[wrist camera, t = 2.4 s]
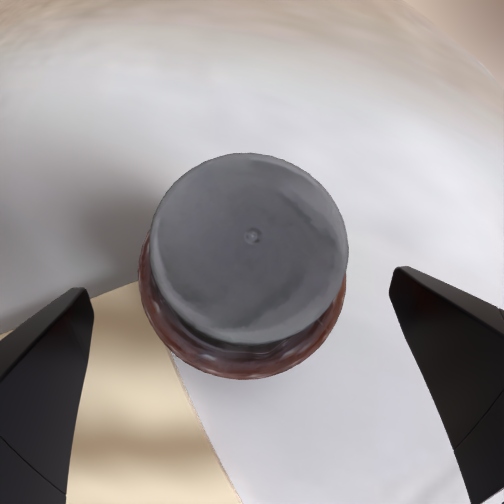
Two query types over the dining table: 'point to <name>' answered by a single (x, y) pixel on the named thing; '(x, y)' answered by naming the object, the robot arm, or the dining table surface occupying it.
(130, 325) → the board
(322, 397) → the dining table surface
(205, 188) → the supplement bottle
